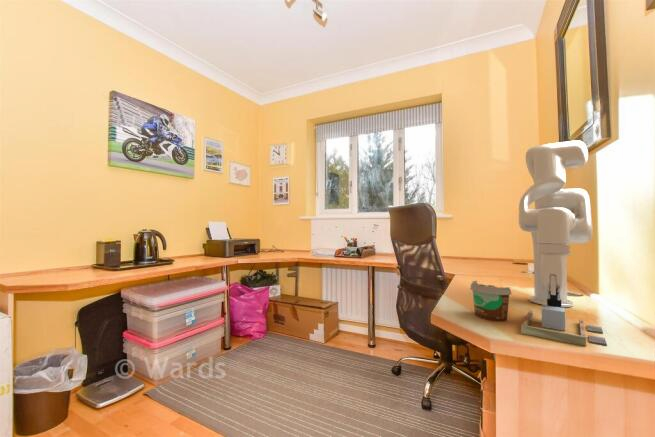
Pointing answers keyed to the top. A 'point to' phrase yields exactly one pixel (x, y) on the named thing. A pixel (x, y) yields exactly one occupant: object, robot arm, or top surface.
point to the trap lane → (561, 335)
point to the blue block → (553, 317)
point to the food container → (490, 301)
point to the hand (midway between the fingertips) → (554, 312)
